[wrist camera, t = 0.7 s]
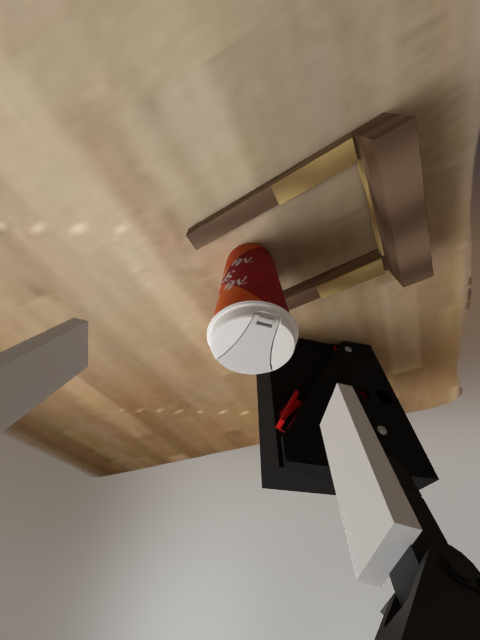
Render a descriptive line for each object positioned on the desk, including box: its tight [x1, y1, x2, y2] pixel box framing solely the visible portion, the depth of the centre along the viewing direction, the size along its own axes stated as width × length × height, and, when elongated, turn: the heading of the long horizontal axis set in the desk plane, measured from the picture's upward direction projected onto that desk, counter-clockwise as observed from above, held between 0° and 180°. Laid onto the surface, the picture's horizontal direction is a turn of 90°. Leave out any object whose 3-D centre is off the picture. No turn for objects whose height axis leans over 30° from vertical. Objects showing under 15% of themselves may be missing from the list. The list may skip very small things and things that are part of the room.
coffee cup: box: [207, 243, 299, 374], centre depth 29 cm, size 8×8×15 cm
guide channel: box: [186, 113, 433, 310], centre depth 30 cm, size 16×22×6 cm
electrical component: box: [257, 338, 439, 495], centre depth 37 cm, size 18×10×20 cm, turn 77°
